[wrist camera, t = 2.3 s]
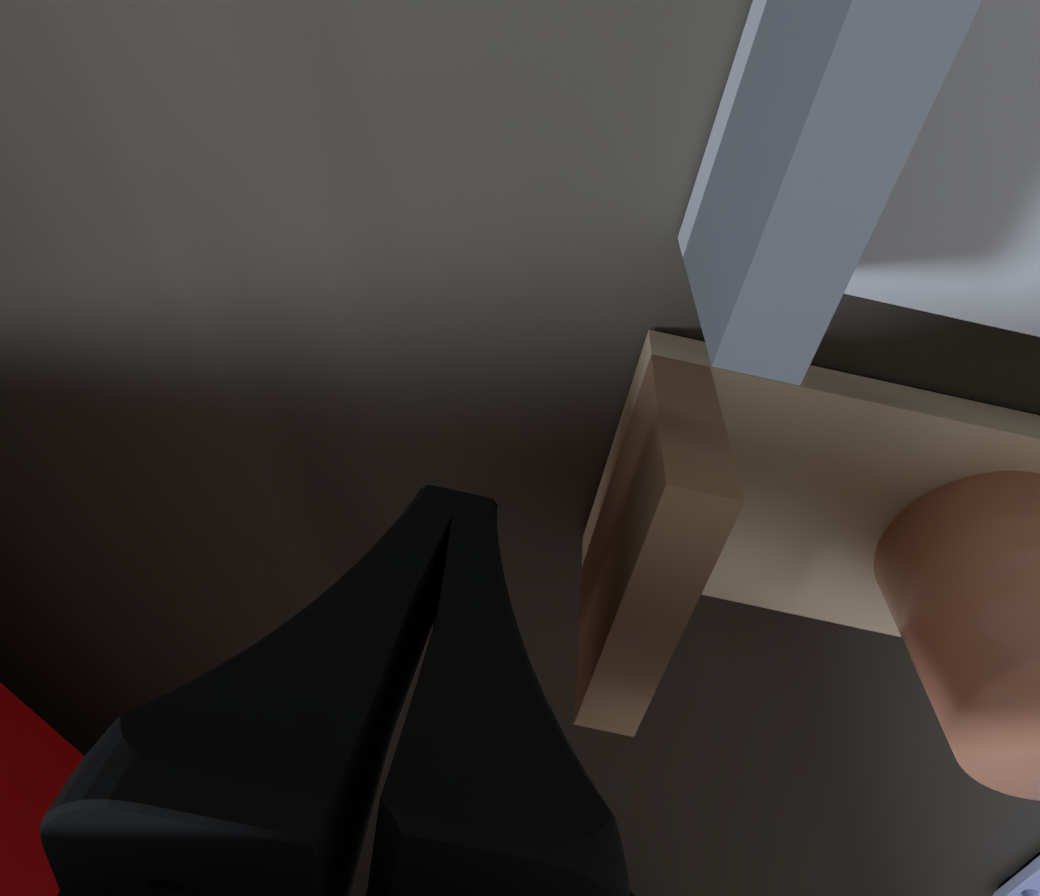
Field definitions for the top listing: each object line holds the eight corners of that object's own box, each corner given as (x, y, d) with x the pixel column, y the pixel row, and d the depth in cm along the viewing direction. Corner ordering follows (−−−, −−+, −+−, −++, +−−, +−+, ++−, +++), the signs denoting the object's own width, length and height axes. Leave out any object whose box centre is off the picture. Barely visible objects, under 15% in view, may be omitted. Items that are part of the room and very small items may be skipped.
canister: (1019, 638, 17) (1132, 821, 13) (839, 600, 17) (904, 773, 13) (1144, 496, 15) (1327, 672, 11) (935, 450, 15) (1048, 612, 11)
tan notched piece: (1026, 632, 19) (1166, 849, 14) (582, 536, 18) (573, 724, 14) (1189, 448, 15) (1444, 652, 11) (648, 329, 15) (666, 485, 10)
